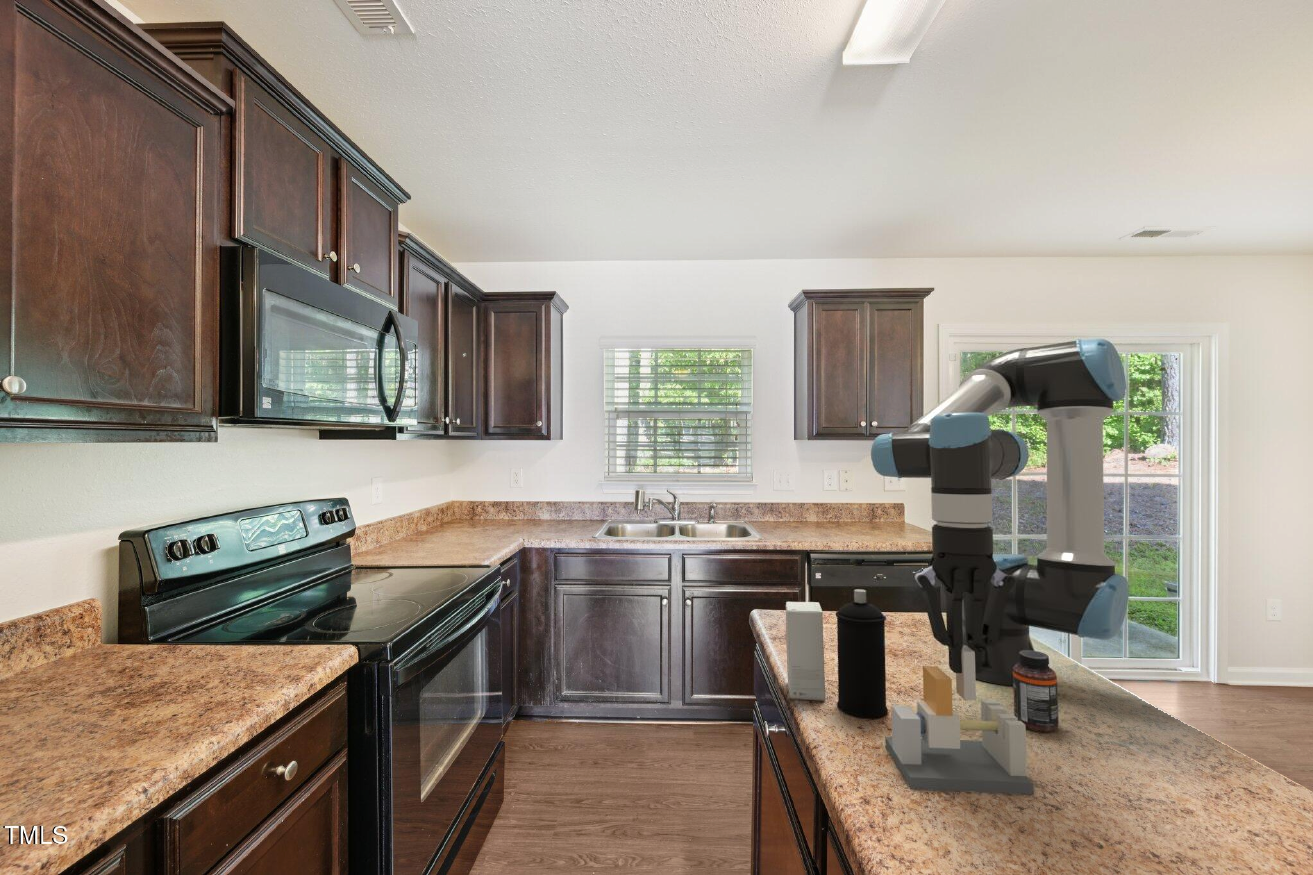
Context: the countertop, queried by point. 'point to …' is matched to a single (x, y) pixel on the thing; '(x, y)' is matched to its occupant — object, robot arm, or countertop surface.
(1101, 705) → the countertop surface
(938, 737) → the sleeve
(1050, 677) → the supplement bottle
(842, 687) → the aerosol can
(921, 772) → the cord board
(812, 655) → the skincare box
